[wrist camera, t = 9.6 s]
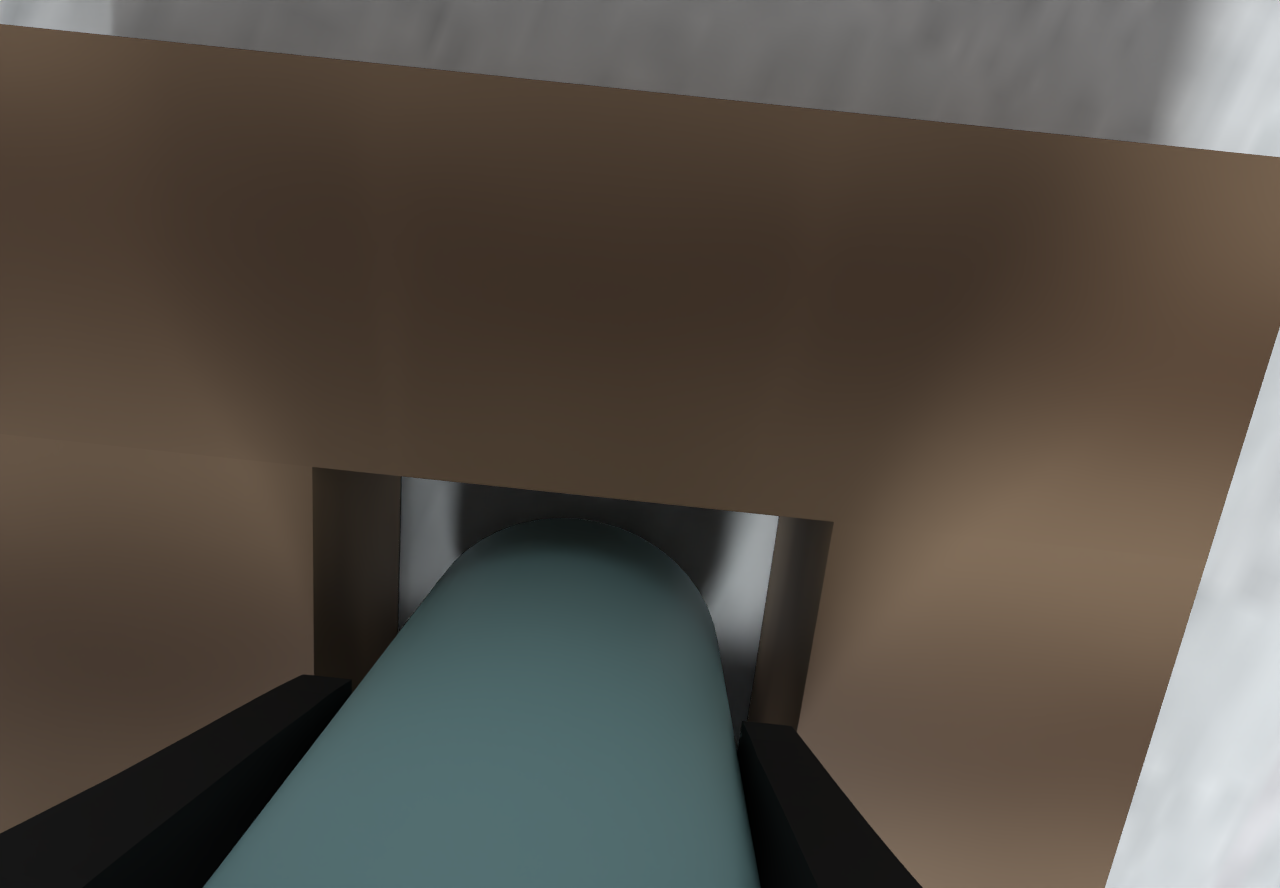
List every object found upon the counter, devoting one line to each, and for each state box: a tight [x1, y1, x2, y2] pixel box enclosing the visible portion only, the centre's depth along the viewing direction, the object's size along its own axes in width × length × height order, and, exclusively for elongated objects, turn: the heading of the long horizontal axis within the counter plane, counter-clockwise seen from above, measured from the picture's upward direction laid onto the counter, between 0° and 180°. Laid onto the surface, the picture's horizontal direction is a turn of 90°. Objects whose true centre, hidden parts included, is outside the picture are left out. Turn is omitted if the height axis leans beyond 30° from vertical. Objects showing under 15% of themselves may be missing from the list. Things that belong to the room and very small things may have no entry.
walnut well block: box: [0, 24, 1280, 888], centre depth 10 cm, size 16×16×3 cm
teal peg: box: [203, 518, 761, 888], centre depth 7 cm, size 5×5×8 cm
